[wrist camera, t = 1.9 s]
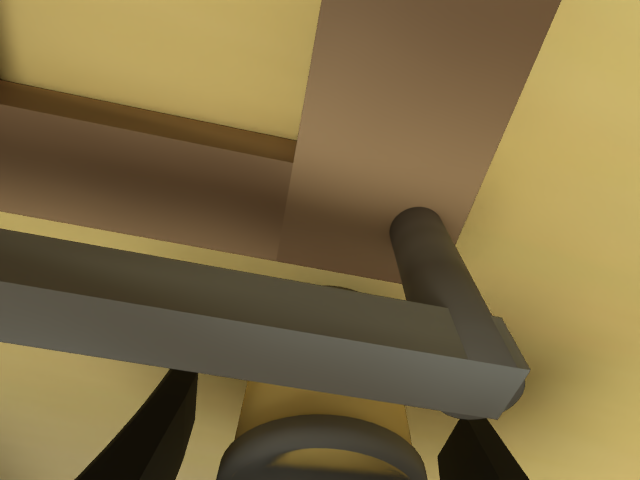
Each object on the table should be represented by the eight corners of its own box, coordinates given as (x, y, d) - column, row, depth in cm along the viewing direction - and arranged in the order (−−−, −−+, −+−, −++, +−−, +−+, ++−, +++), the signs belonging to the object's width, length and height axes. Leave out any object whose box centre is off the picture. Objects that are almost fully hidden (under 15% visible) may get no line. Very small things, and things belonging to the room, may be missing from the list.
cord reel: (376, 402, 15) (394, 569, 10) (244, 381, 14) (206, 546, 10) (417, 300, 12) (466, 461, 8) (261, 272, 12) (220, 425, 7)
